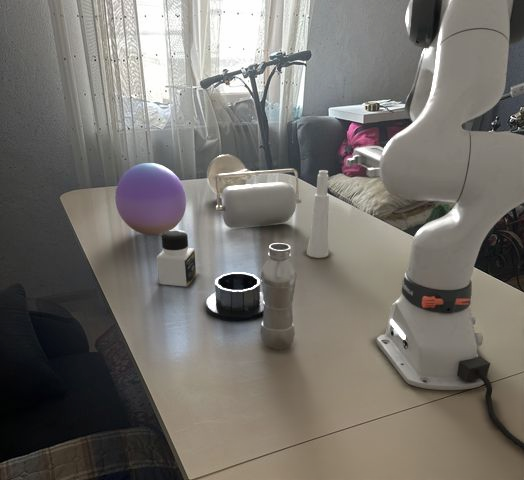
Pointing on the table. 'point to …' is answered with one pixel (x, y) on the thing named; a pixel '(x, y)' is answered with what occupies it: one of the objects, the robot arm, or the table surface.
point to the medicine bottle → (176, 259)
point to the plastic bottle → (278, 297)
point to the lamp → (250, 194)
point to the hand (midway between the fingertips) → (357, 167)
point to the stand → (236, 298)
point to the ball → (150, 199)
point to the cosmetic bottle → (320, 219)
